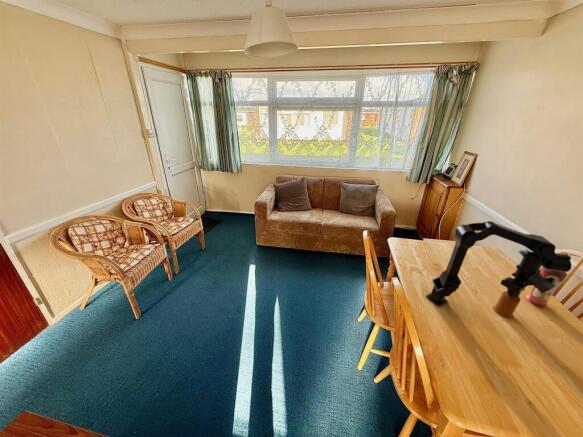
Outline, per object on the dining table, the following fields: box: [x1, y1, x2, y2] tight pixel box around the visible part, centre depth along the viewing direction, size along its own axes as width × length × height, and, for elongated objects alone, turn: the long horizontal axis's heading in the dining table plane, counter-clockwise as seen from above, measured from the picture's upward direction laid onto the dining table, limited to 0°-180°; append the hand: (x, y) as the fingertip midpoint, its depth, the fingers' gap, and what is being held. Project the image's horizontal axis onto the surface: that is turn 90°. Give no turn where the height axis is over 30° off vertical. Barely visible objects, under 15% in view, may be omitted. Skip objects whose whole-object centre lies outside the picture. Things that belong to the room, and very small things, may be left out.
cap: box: [506, 290, 522, 297], centre depth 98 cm, size 4×4×2 cm
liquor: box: [526, 251, 571, 307], centre depth 102 cm, size 7×7×28 cm
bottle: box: [493, 290, 522, 318], centre depth 101 cm, size 6×6×13 cm
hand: (513, 294), depth 99 cm, fingers open, 4 cm apart
